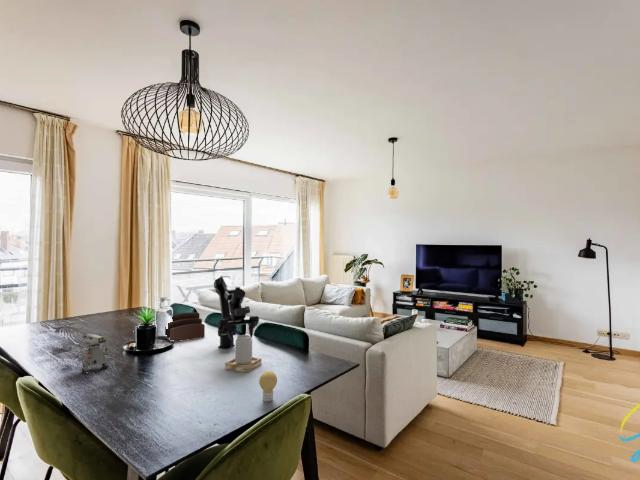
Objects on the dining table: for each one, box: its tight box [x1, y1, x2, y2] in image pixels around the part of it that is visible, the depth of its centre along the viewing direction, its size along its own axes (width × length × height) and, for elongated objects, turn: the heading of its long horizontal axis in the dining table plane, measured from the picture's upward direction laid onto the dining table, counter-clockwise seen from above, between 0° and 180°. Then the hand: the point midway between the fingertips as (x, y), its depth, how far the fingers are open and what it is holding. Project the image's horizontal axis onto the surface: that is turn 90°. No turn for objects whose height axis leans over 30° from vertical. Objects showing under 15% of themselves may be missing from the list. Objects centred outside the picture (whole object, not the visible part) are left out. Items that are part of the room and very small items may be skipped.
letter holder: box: [164, 311, 206, 342], centre depth 200 cm, size 10×20×14 cm, turn 129°
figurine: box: [76, 333, 109, 373], centre depth 150 cm, size 9×12×15 cm
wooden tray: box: [224, 356, 262, 373], centre depth 155 cm, size 12×12×2 cm
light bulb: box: [258, 371, 278, 403], centre depth 122 cm, size 6×6×10 cm
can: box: [234, 334, 253, 365], centre depth 156 cm, size 8×8×12 cm
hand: (242, 338), depth 158 cm, fingers open, 9 cm apart
